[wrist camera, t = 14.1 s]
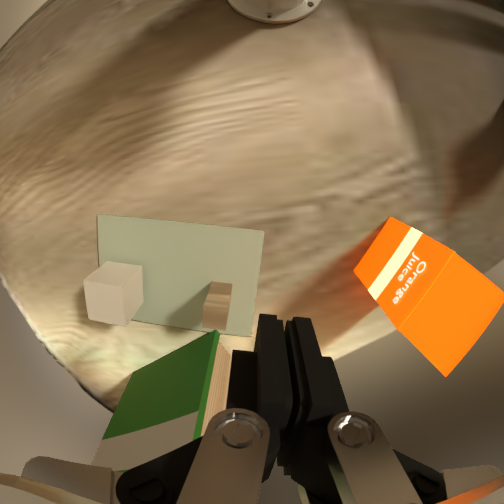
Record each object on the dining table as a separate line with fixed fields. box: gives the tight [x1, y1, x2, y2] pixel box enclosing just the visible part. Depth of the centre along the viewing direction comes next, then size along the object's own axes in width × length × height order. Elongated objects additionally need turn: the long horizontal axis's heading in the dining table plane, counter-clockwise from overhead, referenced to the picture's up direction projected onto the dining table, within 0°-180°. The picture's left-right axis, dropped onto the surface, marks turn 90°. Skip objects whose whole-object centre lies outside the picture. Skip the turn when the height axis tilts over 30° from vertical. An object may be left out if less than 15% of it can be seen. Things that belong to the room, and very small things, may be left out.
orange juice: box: [353, 217, 504, 377], centre depth 28 cm, size 8×9×20 cm
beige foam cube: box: [83, 261, 144, 327], centre depth 34 cm, size 5×5×7 cm
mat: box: [97, 214, 265, 337], centre depth 38 cm, size 15×22×1 cm
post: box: [202, 281, 232, 331], centre depth 35 cm, size 3×3×7 cm
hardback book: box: [91, 329, 232, 472], centre depth 32 cm, size 18×7×24 cm, turn 124°
